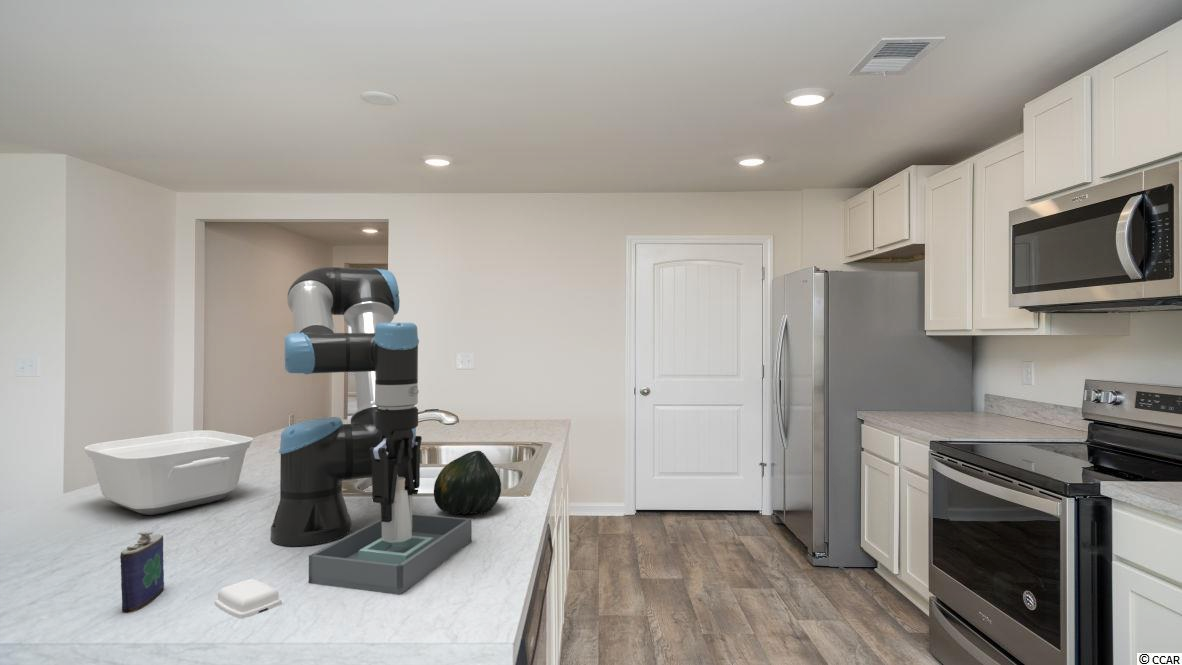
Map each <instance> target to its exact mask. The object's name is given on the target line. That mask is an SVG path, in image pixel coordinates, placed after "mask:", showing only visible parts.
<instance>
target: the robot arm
mask: <svg viewBox="0 0 1182 665" xmlns="http://www.w3.org/2000/svg"><path fill="white" fill-rule="evenodd" d="M399 294H400V291H399V286H398V282H397V278H396V277H395V275H394V273H393V272H392V271H391V270H389V269H388V270H387V269H383V268H382V269H381V268H377V267H376V268H375V267H372V268H360V267H359V268H354V267H335V266H325V267H323V266H322V267H318V268H315V269H312V270H310V271H308V272H305V273H304V274H302V275H300V276H299V277H298V278H297V279H295V281H293V282H292V284H291V285H290V287H289V290H288V292H287V305H288V308H289V310H290V311H291V313H292V314H293V329H294V333H287V334H286V335H285V337H284V369H285V372H287V373H289V374H304V375H310V374H331V373H332V374H333V373H336V374H337V373H354V381H355V395H356V396H355V398H356V408H357V411H355V412H354V413H353V414H352V416H351V418H350V423H346V424H344V423H343V420H342V418H341V417H337V416H332V417H320V418H319V417H318V418H313V419H309V420H304V421H301V422H297V423H294V424H291V425H288V426H287V427H286V428H284V429H283V430H282V432H281V434H280V441H279V442H280V443H279V445H280V446H279V450H278V453H279V455H280V475H279V476H280V477H279V478H280V479H279V480H280V481H279V482H280V485H279V492H280V496H279V503H278V506H277V508H276V511H275V515H274V518H273V522H272V524H271V526H270V540H271V542H272V543H273V544H276V545H280V546H288V547H302V546H303V547H304V546H305V547H306V546H313V545H321V544H323V543H324V544H325V543H328V542H332V541H333V542H334V541H335V540H339V539H342V538H344V536H345V537H346V536H348V534H350V532H351V531H352V518H351V516H350V514H349V511H348V507H347V504H346V501H345V499H344V496H343V481H348V480H349V481H350V480H358V479H359V480H360V479H361V480H362V479H369V478H371V481H372V482H371V487H372V488H371V489H372V490H371V491H372V502H373V503H376V504H380V519H381V521H382V539H390V540H396V539H397V502H394V498H395V489H396V481H397V477H404V478H405V486H404V488H405V489H404V490H407V493H408V502H409V511H410V521H411V530H412V514H413V495H417V494H418V493H419V487H420V484H421V483H420V482H421V480H420V479H421V478H420V477H421V475H420V474H421V472H420V470H421V466H420V465H421V444H422V436H421V435H416V434H417V432H416V429H417V427H418V426H419V408H418V407H416V405H417V404H418V403H419V399H418V398H419V397H418V395H419V387H418V386H419V384H418V383H419V381H418V380H419V376H418V375H419V367H418V366H419V358H418V356H419V344H420V343H419V342H420V340H419V336H418V326H417V325H416V324H415V323H414V322H393V320H394V319H395V315H398V313H399V310H400V296H399ZM333 316H343V320H344V322H345V324H346V325H347V326H348V327H350V329H351V332H336V327H335V323H334V318H333Z"/></svg>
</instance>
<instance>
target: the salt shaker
mask: <svg viewBox="0 0 1182 665" xmlns="http://www.w3.org/2000/svg"><path fill="white" fill-rule="evenodd" d="M404 486H405V478H404V477H398V476H397V481H396V489H395V498H394V502H397V539H396V540H390V539H383V541H385V542H389V543H397V542H404V541H407V540H409V539H411V538H412V530H411V521H410V511H409V502H408V493H407V490H404V489H405V488H404Z"/></svg>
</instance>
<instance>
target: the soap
mask: <svg viewBox="0 0 1182 665" xmlns="http://www.w3.org/2000/svg"><path fill="white" fill-rule="evenodd" d="M279 596H280V595H279V591H278V590H277V589H276V588H274V587H273V586H271V585H269V584H267V583H264V582H262V581H260V580H258V579H255V578H249V579H245V580H243V581H238V582H236V583H233V584H230V585H228V586H225V587H222V588H221V589H219V591H218V593H217V599H215V600H214V606H216V608H218V609H219V610H220V611H222V610H223V611H222V612H224V613H226V614H228V615H230V616H233V617H235V618H238V619H246V618H249V617H251V616H255V615H257V614H259V613H260V611H263V610H265V609H267V610H271V609H273V607H274V608H276V607H278V606H279V604H280V605H282V599H281V597H279ZM277 605H278V606H277ZM275 606H276V607H275ZM245 617H246V618H245Z"/></svg>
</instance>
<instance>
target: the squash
mask: <svg viewBox="0 0 1182 665" xmlns="http://www.w3.org/2000/svg"><path fill="white" fill-rule="evenodd" d="M501 491H502V482H501V478H500V475H499V474H498V472H497V470H496V467H495V466H494V465H493V463H492V462H491V461H490V459H488V457H487V456H486V454H485V453H484V452H482V451H481V450H473V451H470V452H466V453H465V454H463V455H461V456H459V457H457V458H455V459H454V460H452V461H450V462H449V463H447V464H446V465H445V466H444V467H442V469H441V470H440V472H439V473H438V475H437V477H436V478H435V481H434V486H433V497H434V502H435V504H436V506H437V507H438V508H439V510H441V511H442V512H445V513H448V514H450V515H459V513H460V514H462V515H463V514H464V515H465V514H468V513H470V514H478V515H479V514H482V515H483V514H486V513H488V512H490V511H491V510H492V508H494V507H495V505H496V504H497V503H498V501H499V499H500V497H501V493H502V492H501Z"/></svg>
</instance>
